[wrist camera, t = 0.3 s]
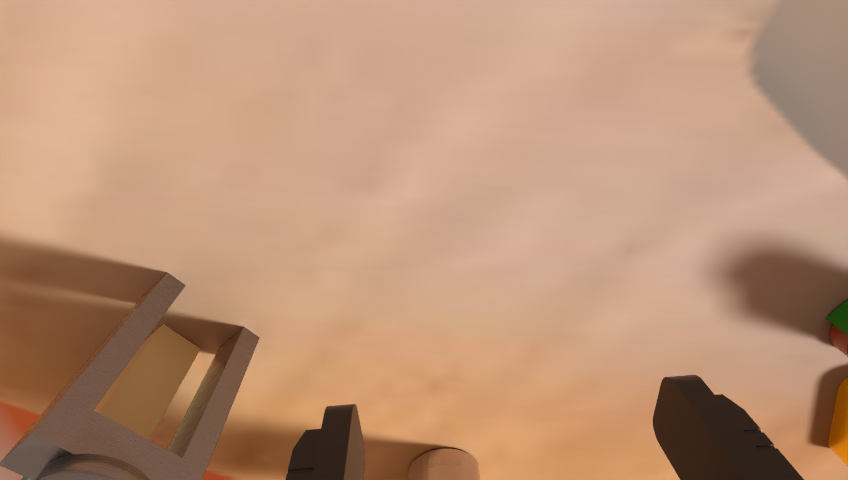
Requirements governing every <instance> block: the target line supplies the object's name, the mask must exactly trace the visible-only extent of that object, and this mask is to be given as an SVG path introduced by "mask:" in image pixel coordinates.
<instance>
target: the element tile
mask: <svg viewBox="0 0 848 480" xmlns="http://www.w3.org/2000/svg"><path fill="white" fill-rule="evenodd" d="M828 445H829V447H830V448H831V449H832V450H833V451H834V452H835V453H836V454H837V455H838V456H839V457H840V459H841V460H842V461H843V462H844V463H845V464H846V465H847V466H848V377H847V378H846V379H845V380H844V381H843V382H842V383H841V384H840V386H839V389H838V393H837V399H836V404H835V409H834V414H833V419H832V424H831V429H830V434H829V439H828Z"/></svg>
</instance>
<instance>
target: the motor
mask: <svg viewBox="0 0 848 480" xmlns="http://www.w3.org/2000/svg"><path fill="white" fill-rule="evenodd" d="M827 320H828V321H830V322H831V323H832V324H833V325H832V327H831V330H830V334H829V337H830V341H831V343H832V344H833V345H834V346H835V347H837V348H838V349H839V350H840V351H841V352H843V353H844V354H845V355H846V356H848V300H847V301H846V302H844V303H843V304H841V305H840V306H839V307H837V308H836V309H835V310H834V311H833V312H832V313H831V314H830V315H829V316H828V317H827Z"/></svg>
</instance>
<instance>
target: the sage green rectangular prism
mask: <svg viewBox="0 0 848 480" xmlns="http://www.w3.org/2000/svg"><path fill="white" fill-rule="evenodd" d="M200 349H201V348H199V347H198V346H196V345H194V344H193V343H191V342H190V341H188V340H187V339H185V338H184V337H182V336H181V335H179V334H178V333H176V332H175V331H173V330H172V329H170V328H169V327H167V326H166V325H164V324H162V325H161V326H160V327H159V328H158V329H157V330H156V331H155V332H154V333H153V334H152V335H150V336H149V337H148V338H147V339H146V340H145V341H144V342H143V343H142V345H141V346H140V347H139V349H138V350H137V352H136V353H135V354H134V356H133V357H132V358H131V360H130V361H129V362H128V364H127V365H126V366H125V368H124V369H123V370H122V372H121V373H120V374H119V376H118V377H117V378H116V380H115V381H114V383H113V384H112V385H111V387H110V388H109V389H108V391H107V392H106V393H105V395H104V396H103V397H102V399H101V400H100V401H99V403H98V404H97V405H96V407H95V408H94V409H93V410H94V411H96V412H97V413H99V414H101V415H103V416H105V417H107V418H109V419H111V420H112V421H114V422H116V423H118V424H120V425H122V426H124V427H126V428H127V429H129V430H131V431H133V432H135V433H137V434H139V435H141V436H142V437H144V438H146V439H148V440H149V439H150V438H151V436H152V434H153V432H154V431H155V429H156V427H157V425H158V423H159V422H160V420H161V418H162V416H163V415H164V413H165V411H166V409H167V407H168V406H169V404H170V402H171V400H172V399H173V397H174V395H175V393H176V392H177V390H178V388H179V386H180V384H181V383H182V381H183V379H184V377H185V376H186V374H187V372H188V370H189V368H190V367H191V365H192V363H193V361H194V360H195V358H196V356H197V354H198V352H199V351H200ZM21 480H32V479H29V478H27V477H25V476H23V478H22V479H21Z"/></svg>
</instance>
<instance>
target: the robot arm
mask: <svg viewBox="0 0 848 480" xmlns="http://www.w3.org/2000/svg"><path fill="white" fill-rule="evenodd" d="M653 427H654V432H655V435H656V438H657V440H658V442H659V444H660V446H661V448H662V449H663V451H664V453H665V454H666V456H667V458H668V459H669V461H670V463H671V465H672V466H673V468H674V470H675V471H676V473H677V475H678V476H679V478H680V480H804V479H803V478H802V477H801V476H800V475H799V473H798V472H797V471H796V470H795V469H794V468H793V466H792V465H791V464H790V463H789V462H788V461H787V459H786V458H785V457H784V456H783V455H782V454H781V452H780V451H779V450H778V449H775V448H774V444H773V443H772V442H771V441H770V439H769V438H768V437H767V436H766V435H765V434H764V433H762V432H761V431H760V428H759V427H758V425H757V424H756V423H755V422H754V421H753V420H752V418H751V417H750V416H749V415H748V414H747V412H746V411H745V410H744V409H742V408H741V407H739V406H738V405H737V404H735V403H734V402H732V401H731V400H730V399H728V398H727V397H725V396H724V395H723V394H721V395H714V394H713V392H712V391H711V390H710V389H709V388H708V386H707V385H706V384H705V383H704V381H703V380H702V379H701V378H700V377H698V376H696V375H687V376H675V377H665V378H664V379H663V380H662V382H661V386H660V390H659V395H658V399H657V403H656V407H655V412H654V416H653ZM364 469H365V451H364V442H363V437H362V432H361V426H360V421H359V416H358V411H357V407H356V405H355V404H351V405H339V406H328V407H326V409H325V413H324V418H323V423H322V428H321V429H315V430H306V431H305V432H304V434H303V435H302V437H301V438H300V440H299V441H298V443H297V444H296V446H295V447H294V449H293V452H292V456H291V460H290V464H289V468H288V474H287V476H286V480H364ZM408 478H409V480H480V475H479V469H478V465H477V462H476V460H475V459H474V458H473V457H472V456H471V455H469V454H468V453H466V452H463V451H460V450H456V449H437V450H433V451H429V452H427V453H424V454H422V455H421V456H419V457H418V458H416V459H415V460H414V461H413V462H412V464H411V466H410V467H409V471H408Z"/></svg>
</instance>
